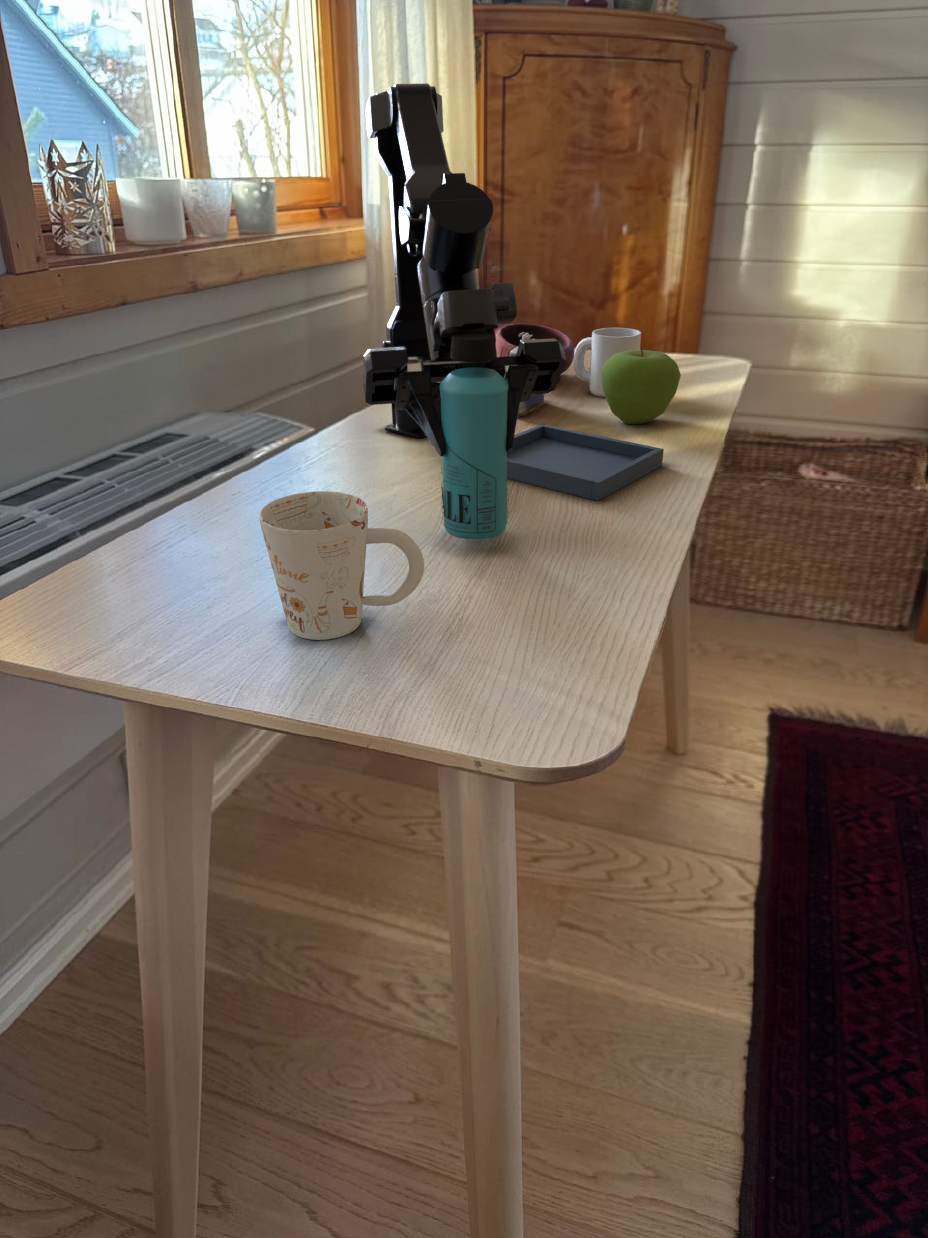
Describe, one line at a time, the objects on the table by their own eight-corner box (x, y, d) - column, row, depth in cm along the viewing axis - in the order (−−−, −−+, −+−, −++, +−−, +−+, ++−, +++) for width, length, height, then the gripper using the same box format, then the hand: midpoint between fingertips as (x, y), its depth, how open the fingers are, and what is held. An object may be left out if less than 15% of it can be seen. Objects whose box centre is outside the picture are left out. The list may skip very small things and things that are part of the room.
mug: (279, 602, 78) (265, 493, 73) (424, 594, 78) (419, 486, 74) (269, 651, 70) (252, 533, 66) (428, 642, 71) (424, 525, 66)
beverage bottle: (515, 533, 90) (520, 327, 81) (496, 559, 85) (498, 342, 75) (454, 525, 92) (451, 323, 82) (431, 550, 86) (425, 337, 77)
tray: (471, 469, 107) (471, 452, 106) (541, 439, 117) (541, 423, 116) (597, 501, 97) (598, 482, 96) (662, 465, 107) (663, 448, 106)
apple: (667, 435, 118) (675, 358, 113) (589, 428, 121) (593, 353, 116) (682, 413, 127) (689, 341, 122) (609, 407, 130) (613, 337, 125)
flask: (521, 418, 126) (522, 339, 121) (502, 415, 127) (502, 338, 122) (547, 402, 133) (549, 327, 128) (529, 400, 134) (531, 326, 129)
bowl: (583, 372, 149) (585, 322, 145) (559, 391, 138) (561, 338, 135) (493, 365, 154) (493, 317, 151) (464, 383, 144) (463, 331, 140)
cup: (631, 399, 133) (635, 338, 129) (566, 394, 137) (568, 334, 132) (641, 388, 139) (645, 328, 135) (578, 383, 143) (580, 325, 138)
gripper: (356, 254, 78) (377, 414, 73) (564, 246, 81) (596, 399, 76) (355, 331, 88) (374, 474, 84) (539, 321, 91) (566, 459, 87)
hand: (476, 451), depth 82 cm, fingers closed on beverage bottle, 6 cm apart
